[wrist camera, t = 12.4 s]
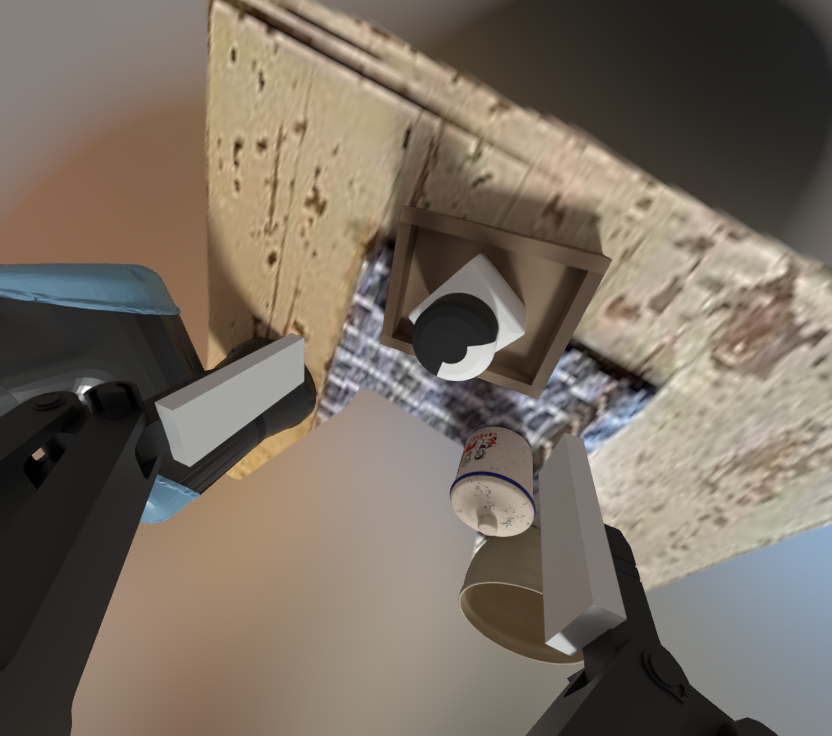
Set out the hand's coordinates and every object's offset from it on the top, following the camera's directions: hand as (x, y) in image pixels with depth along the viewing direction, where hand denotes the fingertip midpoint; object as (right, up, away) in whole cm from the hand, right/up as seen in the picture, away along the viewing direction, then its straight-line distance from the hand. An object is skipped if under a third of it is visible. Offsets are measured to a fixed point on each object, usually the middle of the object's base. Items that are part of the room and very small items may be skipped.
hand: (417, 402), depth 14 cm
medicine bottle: (+6, +9, +16) cm, 19 cm away
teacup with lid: (+10, -10, +26) cm, 30 cm away
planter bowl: (+17, -25, +31) cm, 44 cm away
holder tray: (+7, +9, +17) cm, 20 cm away
